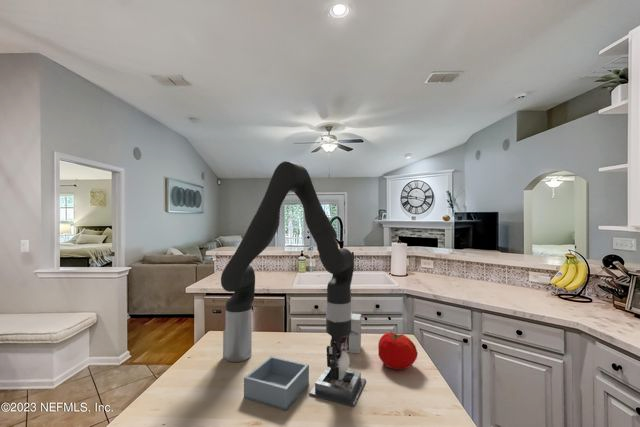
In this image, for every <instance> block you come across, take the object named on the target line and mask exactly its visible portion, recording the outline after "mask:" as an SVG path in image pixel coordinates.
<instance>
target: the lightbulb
mask: <svg viewBox="0 0 640 427" xmlns="http://www.w3.org/2000/svg"><path fill="white" fill-rule="evenodd" d="M336 355H339V353H336ZM333 362H334V361H333ZM349 367H350V356H349V354H348V352H347V353H346V352H345V351H344V350H343V351H342V358H341V359H340V361H339V379H338V380H337V381H336V380H333V382H334V384H335V385H339V386H343V387H344V381H343V378H344V375H345V372H346V370H349V369H348V368H349ZM330 369H331V367H330Z"/></svg>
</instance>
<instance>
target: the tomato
mask: <svg viewBox="0 0 640 427" xmlns="http://www.w3.org/2000/svg"><path fill="white" fill-rule="evenodd" d="M377 343H378V346H377V347H378V348H377V349H378V353H377V354H378V355H377V356H378V357H379V359H380V361H381V362H382V363H383V365H385V366H386V367H388V368H389V369H394V370H397V371H400V370H404V369H405V370H406V369H408V368H410V367H411V366H412V365H413V364H414V363H415V362H416V360H417V357H418V349H417V347H416V345H415V344H414V342H413V341H412V340H411V338H409V337H408V336H407V335H405V334H404V333H402V334H397V333H396V332H393V331H390V332H387V333H384V334H383V335H382V336H381V337H380V338H379V340H378V342H377Z"/></svg>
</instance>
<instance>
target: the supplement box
mask: <svg viewBox="0 0 640 427" xmlns="http://www.w3.org/2000/svg"><path fill="white" fill-rule="evenodd" d="M361 346H362V314H361V313H352V312H351V333H350V334H349V351H347V353H351V354H360V352H361Z"/></svg>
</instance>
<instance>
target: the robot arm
mask: <svg viewBox="0 0 640 427" xmlns="http://www.w3.org/2000/svg"><path fill="white" fill-rule="evenodd" d="M289 192H293V193H294V194H295V195H296V197H297V198H298V200H299V201H300V203H301V205H302V208H303V214H304V220H305V223H306V226H307V229H308V231H309V234H310V235H311V237H312V238H313V240H314V242H315V244H316V247H317V252H318V254H319V259H320V261H321V265H322V266H323V268H324V269H325V270H326V272H327V273H329V274H331V275H332V277H331V279H330V280H329V281H328V284H327V285H326V308H325V316H326V317H325V330H326V331H325V332H326V333H327V335H329V336H330V337H331V338H330V342H329V345H327V346H326V365H327V366H326V368H327V367H331V380H333V381H334V380H336V381H337V380H338V379H339V361H340V359H341V358H342V351H343V350H344V351H345V352H346V353H347V354H348V352H347V351H349V334H350V333H351V313H352V303H351V297H352V296H351V295H352V294H351V291H352V290H351V285H352V280H353V276H354V269H355V258H354V256H353V253H352V252H351V251H350V250H349V249H347V248H344V247H342V248H341V247H340V248H339V247H338V245H337V244H338V243H337V242H336V240H337V238H338V235H337V231H336V230H335V228H334V227H333V224H332V222H331V221H330V219H329V217H328V216H327V213H326V211H325V210H324V208H323V206H322V204H321V202H320V199H319V198H318V194H317V192H316V190H315V187H314V184H313V182H312V178H311V176H310V173H309V171H308V170H307V168H306V167H304V166H303V165H302V164H298V163H295V162H292V161H290V160H285V161H282V162H280V163H279V164H278V165H277V166H276V167H275V169H274V171H273V174H272V176H271V178H270V181H269V184H268V186H267V189H266V192H265V194H264V196H263V198H262V200H261V202H260V204H259V206H258V209H257V211H256V212H255V215H253V217H252V220H251V221H250V224H249V226H248V228H247V229H246V232H245V234H244V235H243V238H242V239H241V241H240V243H239V245H238V246H237V249H236V251H235V252H234V253H233V255H232V257H230V260H229V262H227V264H226V266H224V269H223V271H222V272H221V276H220V284H221V287H222V288H223V290H224V291H226V292H229V293H231V292H233V294H232V295H231V297H229V299H227V301H226V303H225V329H223V331H222V334H223V336H222V358H224V359H225V360H226V361H227V362H231V363H237V362H243V361H246V360H248V359H250V358H251V357H252V353H253V352H252V347H253V346H252V345H253V344H252V337H253V335H252V334H253V331H252V330H253V328H252V327H253V326H252V325H253V324H252V323H253V321H252V320H253V302H254V299H255V293H256V292H255V290H256V289H255V288H256V274H255V270H254V268H253V266H252V265H251V264H252V262H253V261H254V260H255V259H257V257H258V256H259V255H260V254H262V252H264V250H266V249H267V247H269V245H270V244H271V242H272V240H273V239H274V237H275V235H276V233H277V232H278V230H279V226H280V220H281V219H280V218H281V217H280V216H281V215H280V214H281V207H282V205H283V203H284V200H285V198H286V197H287V196H288V193H289ZM336 353H339V355H336ZM333 361H334V362H333Z"/></svg>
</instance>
